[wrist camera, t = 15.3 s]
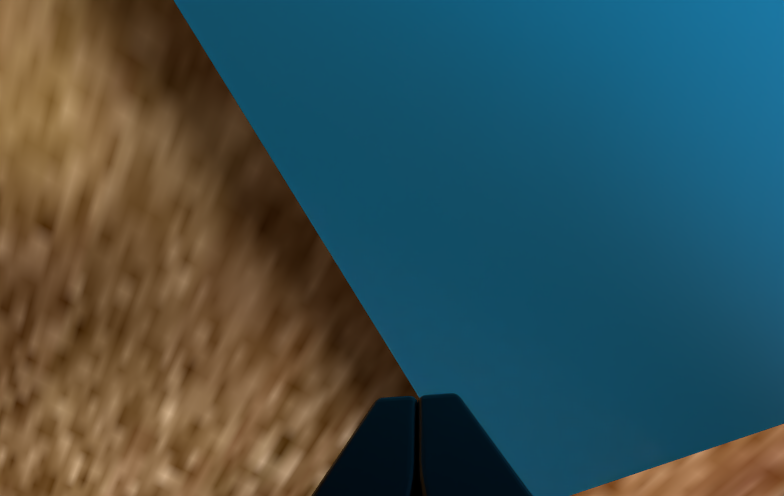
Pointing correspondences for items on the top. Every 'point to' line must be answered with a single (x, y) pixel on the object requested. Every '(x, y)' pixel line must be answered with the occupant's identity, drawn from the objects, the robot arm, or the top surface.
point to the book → (542, 206)
